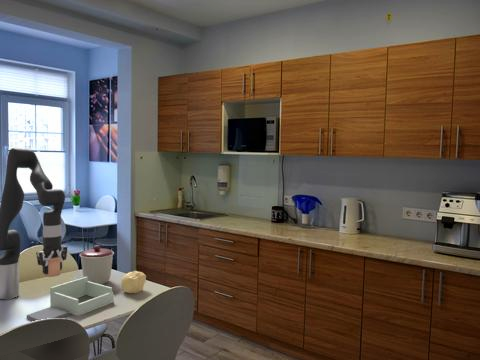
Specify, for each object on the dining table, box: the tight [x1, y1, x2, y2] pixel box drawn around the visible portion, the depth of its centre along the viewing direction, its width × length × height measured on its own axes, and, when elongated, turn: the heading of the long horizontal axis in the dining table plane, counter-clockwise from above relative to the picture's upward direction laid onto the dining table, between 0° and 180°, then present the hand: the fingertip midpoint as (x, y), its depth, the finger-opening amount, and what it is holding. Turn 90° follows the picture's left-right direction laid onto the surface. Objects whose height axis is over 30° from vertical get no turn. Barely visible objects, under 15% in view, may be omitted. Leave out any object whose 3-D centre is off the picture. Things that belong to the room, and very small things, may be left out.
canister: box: [79, 244, 115, 285], centre depth 223 cm, size 18×18×21 cm
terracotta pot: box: [44, 256, 61, 278], centre depth 177 cm, size 6×6×8 cm
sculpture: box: [121, 270, 147, 294], centre depth 210 cm, size 12×12×11 cm
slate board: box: [26, 306, 69, 322], centre depth 177 cm, size 12×12×2 cm
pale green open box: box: [49, 277, 114, 317], centre depth 192 cm, size 20×20×9 cm
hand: (52, 272), depth 178 cm, fingers closed on terracotta pot, 6 cm apart
